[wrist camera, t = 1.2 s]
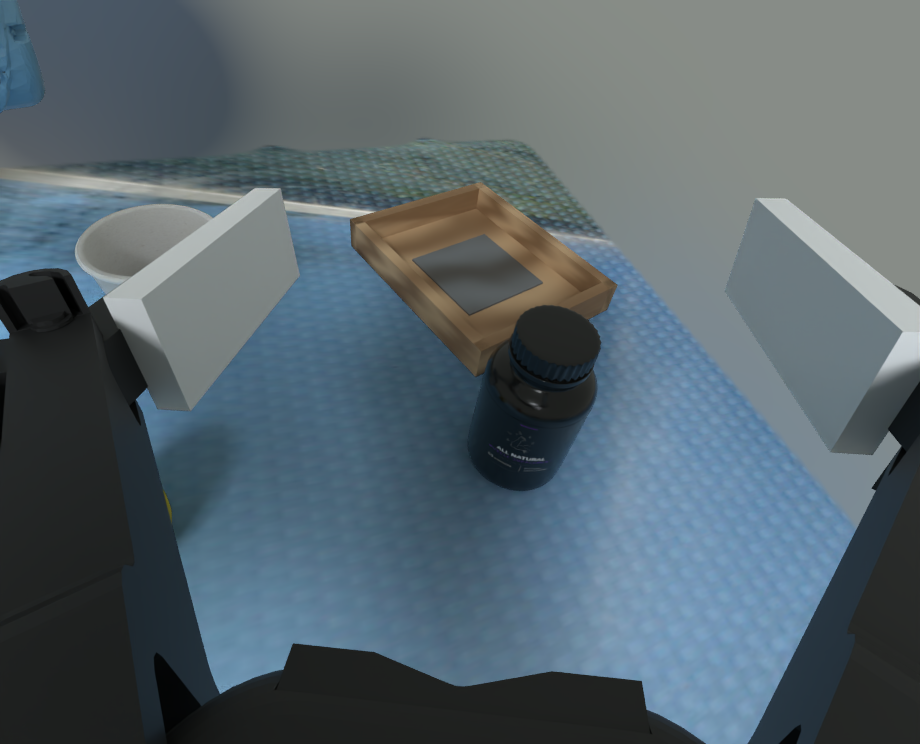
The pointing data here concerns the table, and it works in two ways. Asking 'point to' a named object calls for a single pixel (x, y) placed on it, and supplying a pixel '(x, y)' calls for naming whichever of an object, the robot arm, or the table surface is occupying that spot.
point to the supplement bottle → (534, 398)
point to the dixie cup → (133, 240)
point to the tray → (475, 268)
